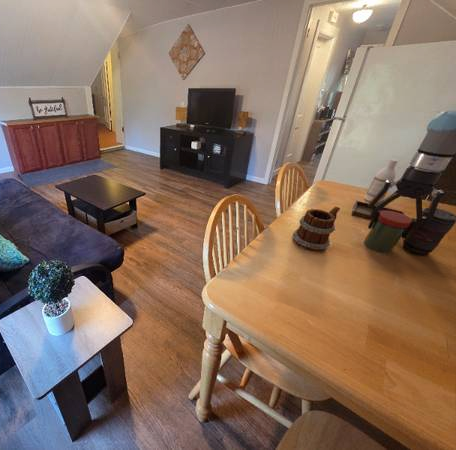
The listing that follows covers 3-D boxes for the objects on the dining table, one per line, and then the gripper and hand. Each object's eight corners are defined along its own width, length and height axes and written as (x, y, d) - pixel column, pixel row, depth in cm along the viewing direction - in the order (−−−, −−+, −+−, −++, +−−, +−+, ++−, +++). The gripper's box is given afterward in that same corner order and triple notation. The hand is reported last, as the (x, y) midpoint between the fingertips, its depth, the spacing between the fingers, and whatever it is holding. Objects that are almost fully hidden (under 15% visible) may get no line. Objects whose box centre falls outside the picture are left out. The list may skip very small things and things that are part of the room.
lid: (375, 222, 82) (378, 217, 81) (376, 212, 87) (379, 207, 86) (410, 231, 77) (413, 226, 76) (408, 220, 83) (411, 215, 82)
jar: (391, 245, 88) (409, 217, 82) (391, 256, 83) (410, 227, 77) (364, 237, 92) (379, 210, 86) (362, 247, 87) (378, 219, 81)
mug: (282, 238, 91) (299, 201, 84) (305, 234, 98) (323, 200, 91) (311, 256, 82) (333, 216, 75) (334, 250, 89) (356, 214, 82)
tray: (401, 215, 106) (404, 211, 105) (402, 228, 98) (405, 224, 97) (354, 204, 116) (356, 200, 114) (351, 214, 107) (353, 210, 106)
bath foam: (375, 197, 122) (396, 157, 112) (385, 203, 116) (408, 162, 106) (360, 196, 123) (380, 157, 112) (369, 202, 117) (391, 161, 106)
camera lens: (401, 252, 85) (426, 214, 77) (398, 241, 90) (421, 205, 83) (432, 260, 81) (462, 222, 73) (427, 248, 87) (454, 211, 79)
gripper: (379, 163, 75) (348, 225, 87) (481, 180, 64) (429, 248, 76) (380, 158, 80) (350, 217, 92) (474, 173, 69) (426, 238, 81)
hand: (385, 231), depth 84 cm, fingers closed on lid, 8 cm apart
